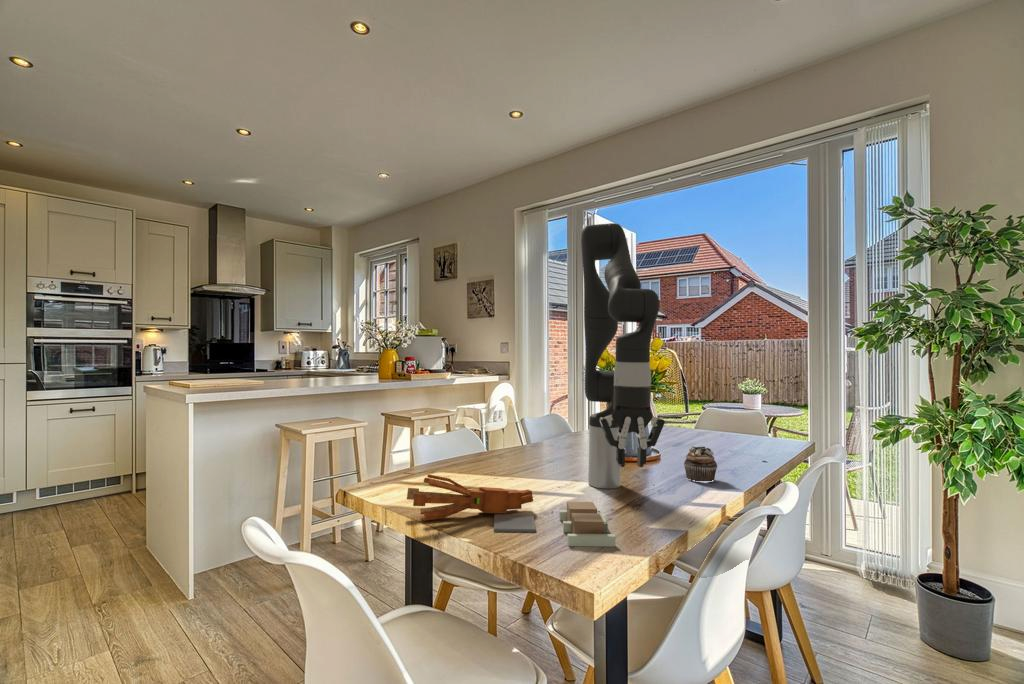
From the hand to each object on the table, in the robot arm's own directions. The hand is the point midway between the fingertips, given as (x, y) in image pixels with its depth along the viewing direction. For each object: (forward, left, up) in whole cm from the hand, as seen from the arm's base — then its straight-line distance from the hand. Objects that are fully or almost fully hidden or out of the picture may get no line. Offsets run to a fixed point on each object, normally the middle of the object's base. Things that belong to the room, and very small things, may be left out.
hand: (630, 465), depth 103 cm
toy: (-14, -34, -15) cm, 40 cm away
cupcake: (-48, +34, -15) cm, 61 cm away
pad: (-8, -24, -15) cm, 29 cm away
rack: (-4, -9, -15) cm, 18 cm away
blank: (0, -9, -15) cm, 18 cm away
